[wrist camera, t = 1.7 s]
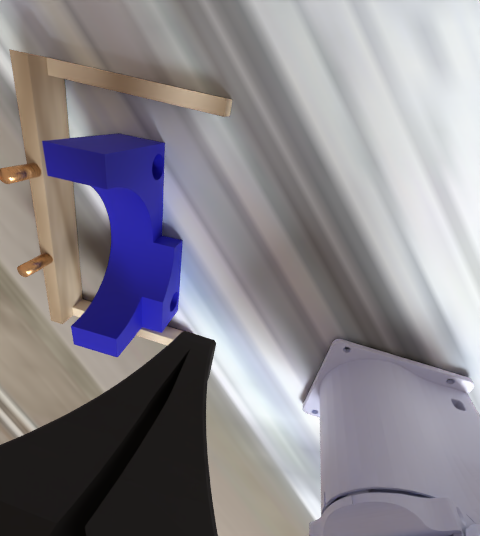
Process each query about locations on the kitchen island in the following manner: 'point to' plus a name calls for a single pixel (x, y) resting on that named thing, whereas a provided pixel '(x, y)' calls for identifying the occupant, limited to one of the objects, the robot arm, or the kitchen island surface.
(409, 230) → the kitchen island surface
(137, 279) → the blue pipe clamp half
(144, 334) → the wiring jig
